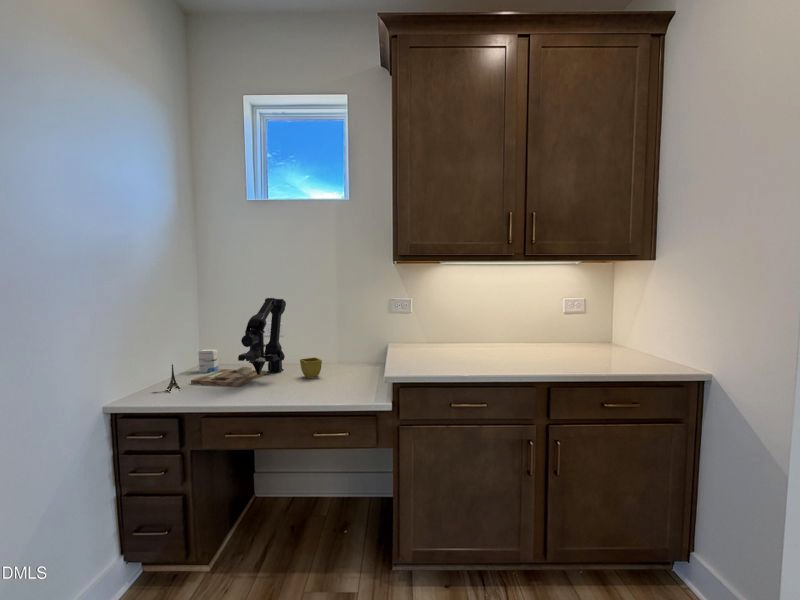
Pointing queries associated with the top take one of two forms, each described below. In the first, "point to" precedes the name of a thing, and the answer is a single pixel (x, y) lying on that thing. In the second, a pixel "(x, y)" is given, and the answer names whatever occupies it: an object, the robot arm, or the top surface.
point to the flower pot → (311, 367)
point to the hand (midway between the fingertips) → (258, 374)
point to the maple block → (244, 372)
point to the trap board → (225, 378)
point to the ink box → (208, 360)
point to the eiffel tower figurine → (172, 381)
